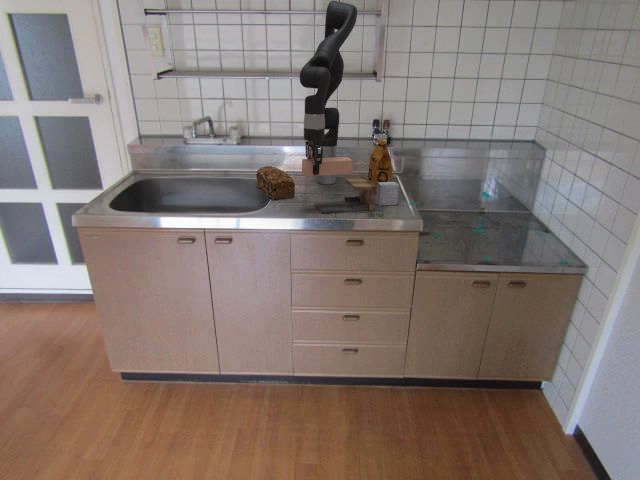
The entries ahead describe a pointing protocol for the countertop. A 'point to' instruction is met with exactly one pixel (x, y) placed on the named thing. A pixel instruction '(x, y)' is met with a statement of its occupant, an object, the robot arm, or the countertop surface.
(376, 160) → the coffee package
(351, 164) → the rectangular block
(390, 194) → the medicine box
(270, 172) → the bread
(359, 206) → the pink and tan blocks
